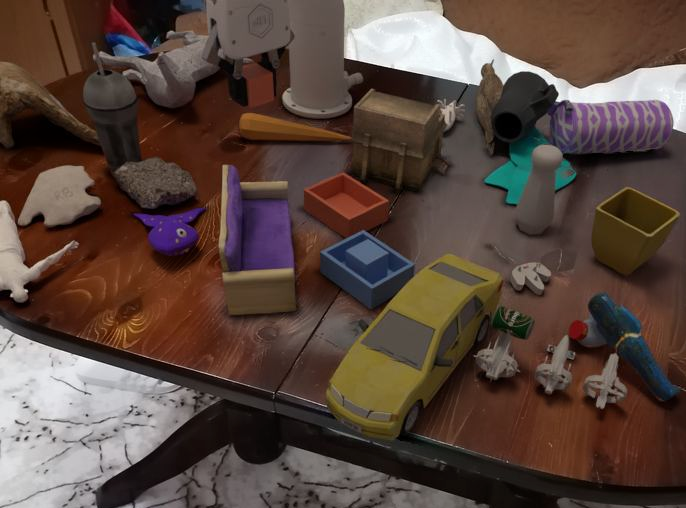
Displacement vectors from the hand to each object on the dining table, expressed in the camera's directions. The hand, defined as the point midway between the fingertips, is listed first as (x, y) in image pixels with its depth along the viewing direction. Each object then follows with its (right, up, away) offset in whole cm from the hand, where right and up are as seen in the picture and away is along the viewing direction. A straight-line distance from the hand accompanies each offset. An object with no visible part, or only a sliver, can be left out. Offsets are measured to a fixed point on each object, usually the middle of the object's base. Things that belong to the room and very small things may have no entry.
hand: (253, 96), depth 100 cm
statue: (-25, +22, +31) cm, 46 cm away
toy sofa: (+2, -24, -2) cm, 24 cm away
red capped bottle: (+49, -31, -7) cm, 59 cm away
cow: (+28, +7, +25) cm, 38 cm away
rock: (-34, -1, +20) cm, 39 cm away
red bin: (+12, -15, +8) cm, 21 cm away
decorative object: (-25, -18, 0) cm, 31 cm away
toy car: (+23, -37, -14) cm, 46 cm away
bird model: (+39, +8, +34) cm, 52 cm away
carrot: (+3, -1, +22) cm, 22 cm away
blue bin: (+16, -25, -3) cm, 30 cm away
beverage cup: (-22, -8, +11) cm, 26 cm away
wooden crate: (+20, -5, +19) cm, 28 cm away
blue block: (+16, -25, -3) cm, 30 cm away
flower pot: (+52, -22, +5) cm, 57 cm away
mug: (+43, +10, +26) cm, 51 cm away
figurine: (-35, -17, -4) cm, 39 cm away
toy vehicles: (+39, -38, -13) cm, 56 cm away
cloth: (+43, -4, +22) cm, 48 cm away
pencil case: (+57, 0, +23) cm, 62 cm away
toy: (-12, -20, 0) cm, 23 cm away
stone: (-16, -12, +8) cm, 21 cm away
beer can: (+32, -31, -16) cm, 47 cm away
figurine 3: (+53, -41, -16) cm, 68 cm away
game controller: (+37, -24, +2) cm, 44 cm away
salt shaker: (+40, -17, +10) cm, 44 cm away
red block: (0, 0, 0) cm, 0 cm away
